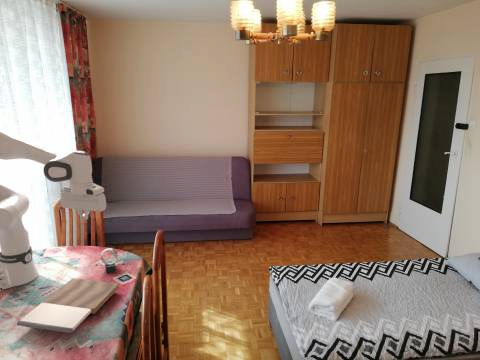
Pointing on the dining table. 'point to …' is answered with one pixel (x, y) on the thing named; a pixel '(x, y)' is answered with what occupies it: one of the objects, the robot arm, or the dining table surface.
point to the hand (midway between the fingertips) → (84, 218)
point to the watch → (110, 264)
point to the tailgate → (55, 317)
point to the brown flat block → (83, 294)
